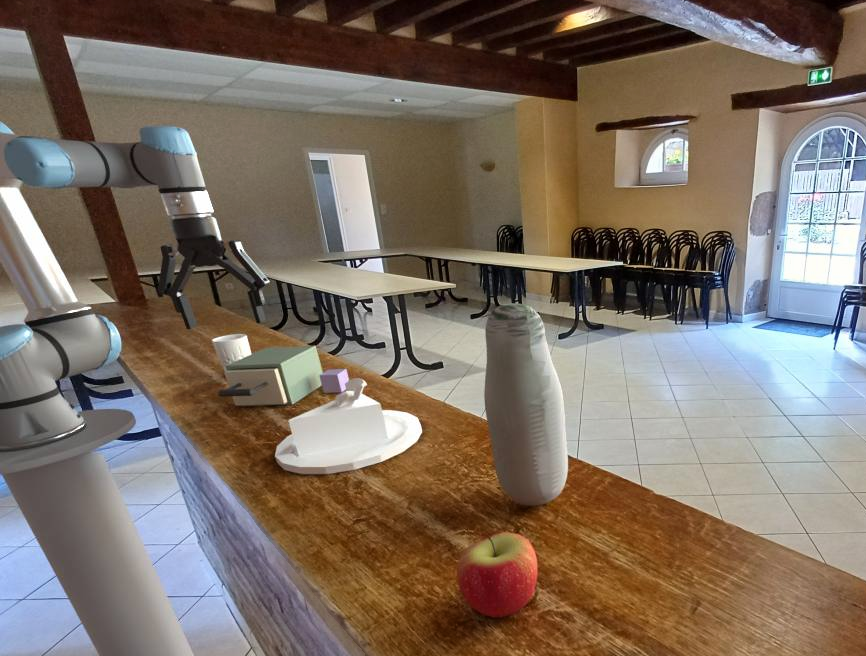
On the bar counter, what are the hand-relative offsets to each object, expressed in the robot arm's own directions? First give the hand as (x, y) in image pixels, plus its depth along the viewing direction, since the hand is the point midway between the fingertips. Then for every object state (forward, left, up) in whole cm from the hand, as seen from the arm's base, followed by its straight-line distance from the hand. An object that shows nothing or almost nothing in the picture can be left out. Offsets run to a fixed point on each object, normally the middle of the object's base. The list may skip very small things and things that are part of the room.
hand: (227, 325), depth 115 cm
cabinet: (+2, +9, -19) cm, 21 cm away
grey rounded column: (+70, -41, -19) cm, 83 cm away
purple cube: (+14, +11, -19) cm, 26 cm away
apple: (+70, -63, -19) cm, 96 cm away
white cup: (-21, +27, -19) cm, 39 cm away
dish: (+32, -19, -19) cm, 42 cm away
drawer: (+2, +4, -18) cm, 18 cm away
